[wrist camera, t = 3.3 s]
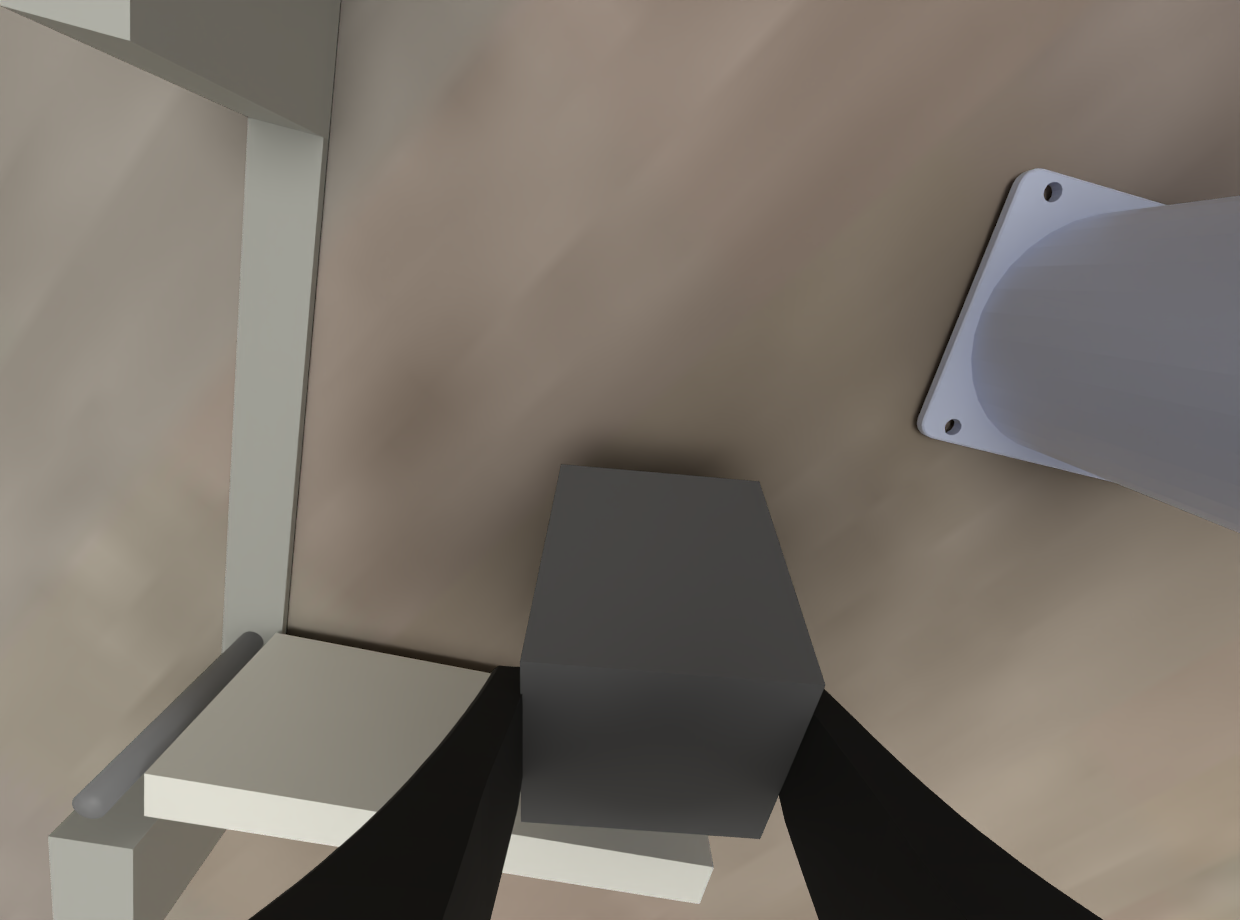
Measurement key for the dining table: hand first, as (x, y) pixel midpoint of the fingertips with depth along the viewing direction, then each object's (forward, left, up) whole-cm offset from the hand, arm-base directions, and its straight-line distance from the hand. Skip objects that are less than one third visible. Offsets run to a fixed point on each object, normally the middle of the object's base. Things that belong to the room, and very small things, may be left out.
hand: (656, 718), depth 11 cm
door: (+4, +8, -8) cm, 12 cm away
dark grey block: (0, 0, -5) cm, 5 cm away
